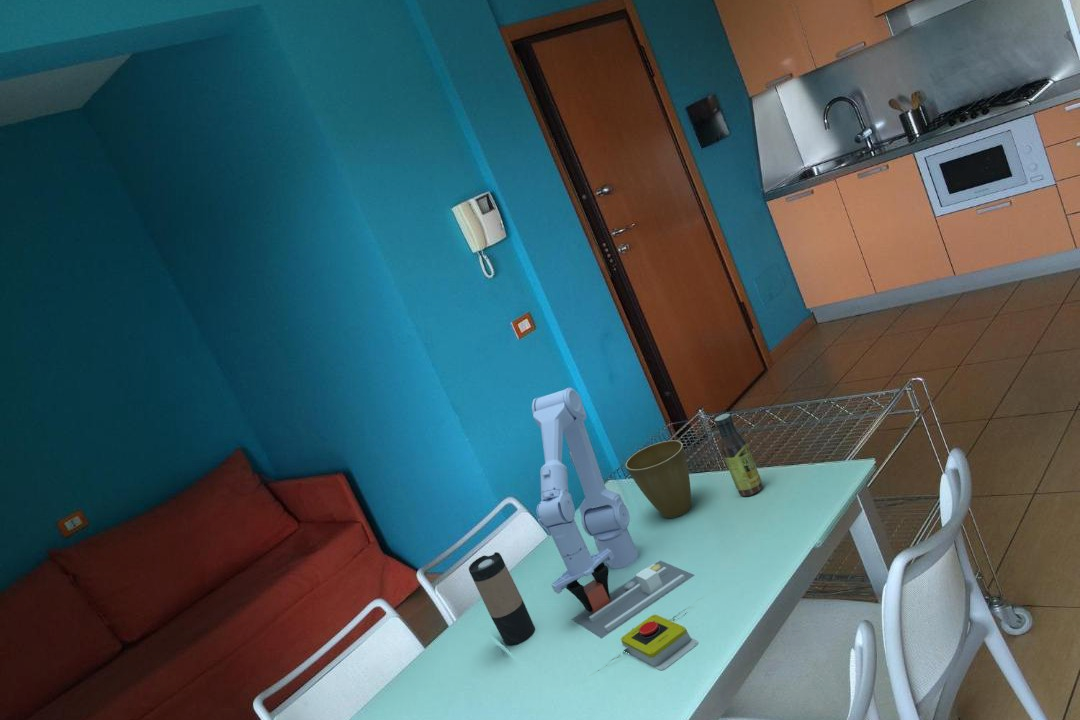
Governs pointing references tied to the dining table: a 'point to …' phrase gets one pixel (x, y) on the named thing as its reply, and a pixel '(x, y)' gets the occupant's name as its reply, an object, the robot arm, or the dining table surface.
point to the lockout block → (596, 595)
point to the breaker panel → (631, 600)
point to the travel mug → (502, 599)
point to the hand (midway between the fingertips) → (598, 604)
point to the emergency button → (658, 642)
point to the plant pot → (663, 477)
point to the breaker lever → (649, 581)
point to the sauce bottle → (738, 457)
